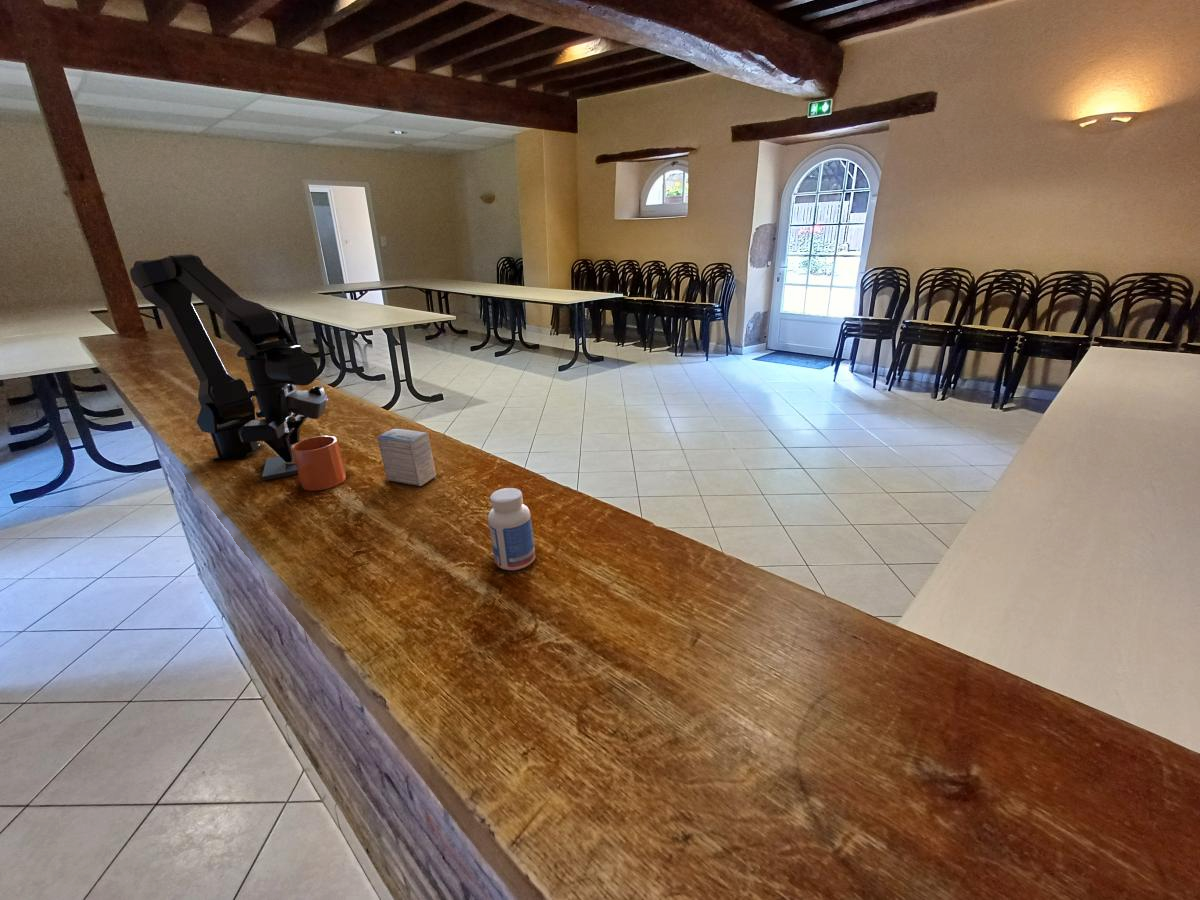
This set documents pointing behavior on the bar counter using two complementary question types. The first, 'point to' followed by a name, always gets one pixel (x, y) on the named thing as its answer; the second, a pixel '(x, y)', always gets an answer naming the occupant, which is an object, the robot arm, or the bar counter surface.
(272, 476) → the grey lid with knob
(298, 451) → the cup
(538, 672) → the bar counter surface
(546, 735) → the bar counter surface
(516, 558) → the pill bottle
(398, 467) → the stack of paper cards
